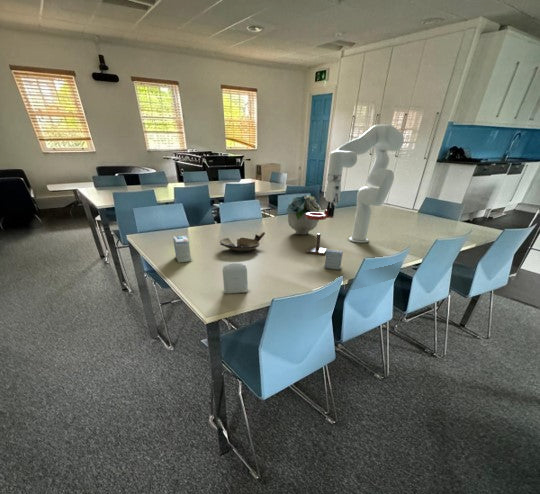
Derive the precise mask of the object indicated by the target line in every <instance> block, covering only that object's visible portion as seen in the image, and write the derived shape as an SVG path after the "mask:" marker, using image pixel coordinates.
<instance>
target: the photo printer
mask: <svg viewBox="0 0 540 494" xmlns="http://www.w3.org/2000/svg"><path fill="white" fill-rule="evenodd" d="M222 282H223V292H224V294H239V293H248V292H249V285H248V267H247V265H246V264H245V263H242V262H241V263H240V262H230V263H226V264H224V265H222Z"/></svg>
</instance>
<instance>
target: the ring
mask: <svg viewBox="0 0 540 494" xmlns="http://www.w3.org/2000/svg"><path fill="white" fill-rule="evenodd" d="M320 212H321V211H319V212H308V213H306V218H307V219H312V220H319V221H323V220H327V219H332V218H334V215H335V214H334V215H333V216H328V212H329V210H327V209H324V212H321V213H320Z"/></svg>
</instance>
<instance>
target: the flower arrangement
mask: <svg viewBox="0 0 540 494" xmlns="http://www.w3.org/2000/svg"><path fill="white" fill-rule="evenodd" d="M308 212H320V213H323V210H322V207H321V206H320V205H319V204H318V202H317V198H315V196H314V195H306V194H305V195H300V196H296V197H293V198H292V200H291V201H290V202H289V203H288V205H287V207H286V212H285V214H287V213H288V215H287V222H288V225H289V227H290V228H291V229H292V230H294V231H295V233H296V234H297V235H308V234H309V232H310V231H313V230H314V229H315V228H317V225H318V223H319V222H320V220H312V219H307V218H306V213H308Z"/></svg>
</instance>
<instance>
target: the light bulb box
mask: <svg viewBox="0 0 540 494" xmlns="http://www.w3.org/2000/svg"><path fill="white" fill-rule="evenodd" d="M172 240H173V247H174V253H175V258H176V260H177V262H178V263H188V262H192V258H191V250H190V249H191V248H190V241H189V239H188V238H187V236H186V235H178V236H172Z"/></svg>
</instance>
